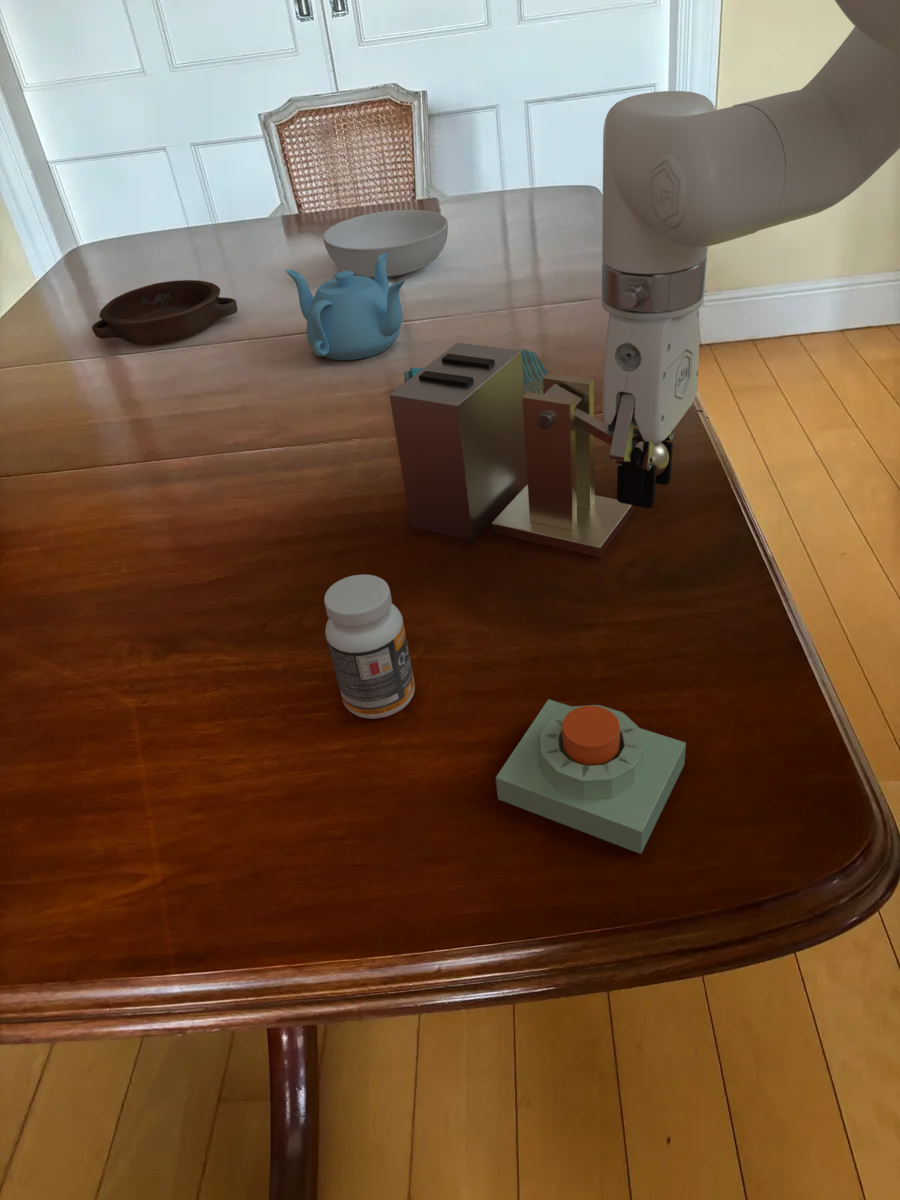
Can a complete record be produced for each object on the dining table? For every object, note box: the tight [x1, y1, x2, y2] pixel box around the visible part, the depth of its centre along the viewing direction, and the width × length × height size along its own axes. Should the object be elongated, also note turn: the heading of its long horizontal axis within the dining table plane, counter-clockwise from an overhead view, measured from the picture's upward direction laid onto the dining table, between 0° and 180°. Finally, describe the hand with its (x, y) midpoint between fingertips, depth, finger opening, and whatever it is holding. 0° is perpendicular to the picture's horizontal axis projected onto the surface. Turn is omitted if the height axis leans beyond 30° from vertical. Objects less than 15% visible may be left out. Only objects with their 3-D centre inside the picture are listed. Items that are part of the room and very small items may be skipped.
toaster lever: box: [544, 384, 669, 476], centre depth 77 cm, size 12×3×3 cm, turn 59°
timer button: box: [562, 705, 620, 765], centre depth 57 cm, size 4×4×2 cm
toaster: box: [389, 342, 528, 543], centre depth 85 cm, size 7×12×14 cm, turn 150°
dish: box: [91, 279, 238, 345], centre depth 138 cm, size 18×22×5 cm
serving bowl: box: [322, 209, 449, 279], centre depth 150 cm, size 21×21×7 cm
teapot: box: [285, 253, 406, 361], centre depth 123 cm, size 15×15×10 cm
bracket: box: [491, 373, 634, 559], centre depth 81 cm, size 11×8×14 cm
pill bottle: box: [323, 574, 416, 720], centre depth 66 cm, size 6×6×10 cm
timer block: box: [495, 698, 687, 855], centre depth 59 cm, size 10×8×4 cm
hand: (643, 490), depth 78 cm, fingers closed on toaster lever, 3 cm apart
